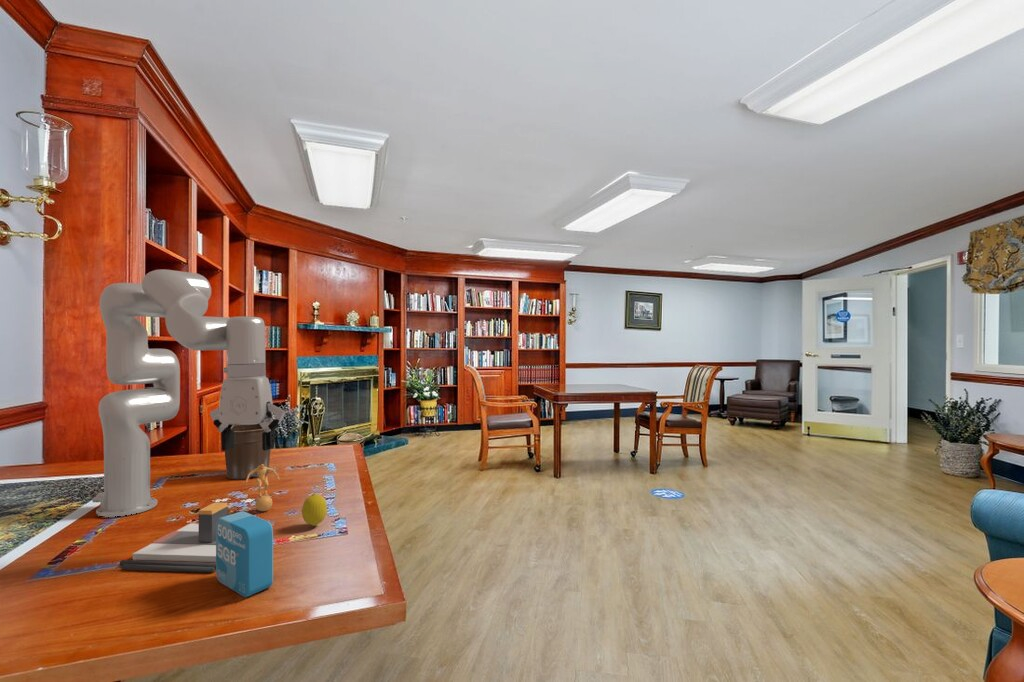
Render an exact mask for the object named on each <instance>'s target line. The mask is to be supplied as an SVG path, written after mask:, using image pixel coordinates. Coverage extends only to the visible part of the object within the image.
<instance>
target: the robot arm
mask: <svg viewBox="0 0 1024 682" xmlns="http://www.w3.org/2000/svg"><path fill="white" fill-rule="evenodd" d="M100 294H101V295H100V297H99V310H100V316H101V319H102V322H103V325H104V328H105V333H106V355H105V357H106V362H105V363H106V364H105V365H106V374H107V375H106V376H107V379H108V380H109V382H110V383H112V384H114V385H119V386H128V385H129V386H131V385H142V384H143V385H144V384H152V385H153V387H150V388H135V389H134V388H133V389H124V390H117V391H113V392H110V393H108V394H105V396H104V395H103V397H102V398H101V399H100V401H99V403H98V416H99V419H100V424H101V427H102V435H103V437H102V438H103V439H102V440H103V492H98V493H97V494H96V496H93V498H92V499H91V501H92V503H100V504H99V507H98V508H96V511H95V514H97V515H98V517H99V516H105V517H104V518H108V517H109V518H118V517H117V516H121V517H125V515H127V516H132V515H136V513H137V514H139V513H143V512H147V511H149V510H151V509H153V508H155V507H156V506H157V505H158V499H157V498H154V497H151V441H150V437H149V436H148V435H147V434H146V432H144V431H143V429H142V428H140V425H145V424H153V423H159V422H165V421H170V420H172V419H174V418H175V417H176V416H177V414H178V412H179V410H180V405H181V368H180V367H181V365H180V360H179V359H178V356H177V355H176V354H175V353H174V352H173V351H172V350H170V349H167V348H149V344H148V343H149V333H148V331H147V328H146V327H145V326H144V324H143V322H141V320H140V319H139V318H138V317H147V318H148V317H149V318H164V322H165V326H166V327H165V328H166V331H167V332H168V335H170V336H171V338H173V340H175V341H176V342H177V343H178V344H180V345H181V346H182V347H184V348H186V349H189V350H192V351H226V367H224V368H223V369H222V371H223V373H224V374H226V378H224V379H223V381H222V384H221V389H220V395H219V396H220V397H219V405H218V407H216V408H215V409H213V410H211V411H210V412H209V415H210V417H211V419H212V422H213V425H214V426H215V427H216V428H217V432H219V433H220V442H221V443H220V444H221V451H225V450H228V449H231V448H233V447H234V430H231V429H232V427H233V426H234V425H250V424H258V423H259V424H260V426H261V427H262V428H263V429H264V430H265V432H263V433H262V449H263V450H264V451H267V450H269V449H271V450H272V449H274V448H275V444H276V437H275V434H276V432H275V431H277V429H278V428H279V426H280V425H281V424H282V422H283V419H284V417H285V415H286V411H285V410H284V409H282V408H280V407H278V406H277V405H275V404H274V403H273V395H272V387H271V384H270V380H269V377H267V373H266V372H267V370H266V369H267V368H266V366H267V365H266V364H267V363H266V331H265V330H266V325H265V321H264V319H263V318H262V317H257V316H247V315H245V316H231V317H225V316H205V314H206V312H207V311H208V307H209V300H210V298H211V296H212V287H211V284H210V282H209V280H208V279H207V278H206V277H205V276H204V275H201V274H200V273H196V272H188V271H182V270H181V271H180V270H173V269H172V270H171V269H166V268H165V269H155V270H152V271H149V272H148V273H146V274H145V275H144V276H143V278H142V280H141V283H135V282H117V283H112V284H110V285H107V286H106V287H105V288H104V289H103V290H102V292H101V293H100ZM273 415H274V416H273ZM273 417H274V419H273ZM131 514H132V515H131ZM97 515H96V516H97ZM115 516H116V517H115Z"/></svg>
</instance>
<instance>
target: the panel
mask: <svg viewBox="0 0 1024 682" xmlns="http://www.w3.org/2000/svg"><path fill="white" fill-rule="evenodd" d="M132 560H135V561H167V562H200V563H216V540H215V541H214V542H199V523H193V522H191V523H188V524H186V525H185V526H183V527H181V528H178V529H177V530H173V531H171V532H169V533H167V534H165V535H163V536H160V537H159V538H157V539H155V540H154V541H152V542H151V543H150V544H148V545H146V546H144V547H142V548H141V549H139V550H137V551H135V552H133V553H132Z"/></svg>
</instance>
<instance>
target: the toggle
mask: <svg viewBox="0 0 1024 682" xmlns="http://www.w3.org/2000/svg"><path fill="white" fill-rule="evenodd" d="M224 516H228V502H213V503H211V504H209V505H207V506H205V507H202V508H200V509H198V524H199V542H214V541H215V540H216V522H217V520H218V519H219V518H221V517H224Z"/></svg>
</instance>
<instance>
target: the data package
mask: <svg viewBox="0 0 1024 682" xmlns="http://www.w3.org/2000/svg"><path fill="white" fill-rule="evenodd" d="M273 529H274V528H273V525H272V523H271V522H270V521H268V520H266V519H263V518H261V517H258V516H256V515H253V514H251V513H249V512H246V511H244V510H242V511H238V512H235V513H231V514H227V516H224V517H221V518H219V519H218V520H217V522H216V562H215V563H216V569H215V573H216V574H215V575H216V579H217V580H218V582H219V583H220V584H222V585H224V586H225V587H227V588H228V589H231V590H232V591H234V592H236V593H237V594H238V595H240V596H241V597H243V598H248V597H250V596H252V595H254V594H257V593H259V592H261V591H265V590H266V589H268V588H270V587H272V585H273V583H274V530H273Z"/></svg>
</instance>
